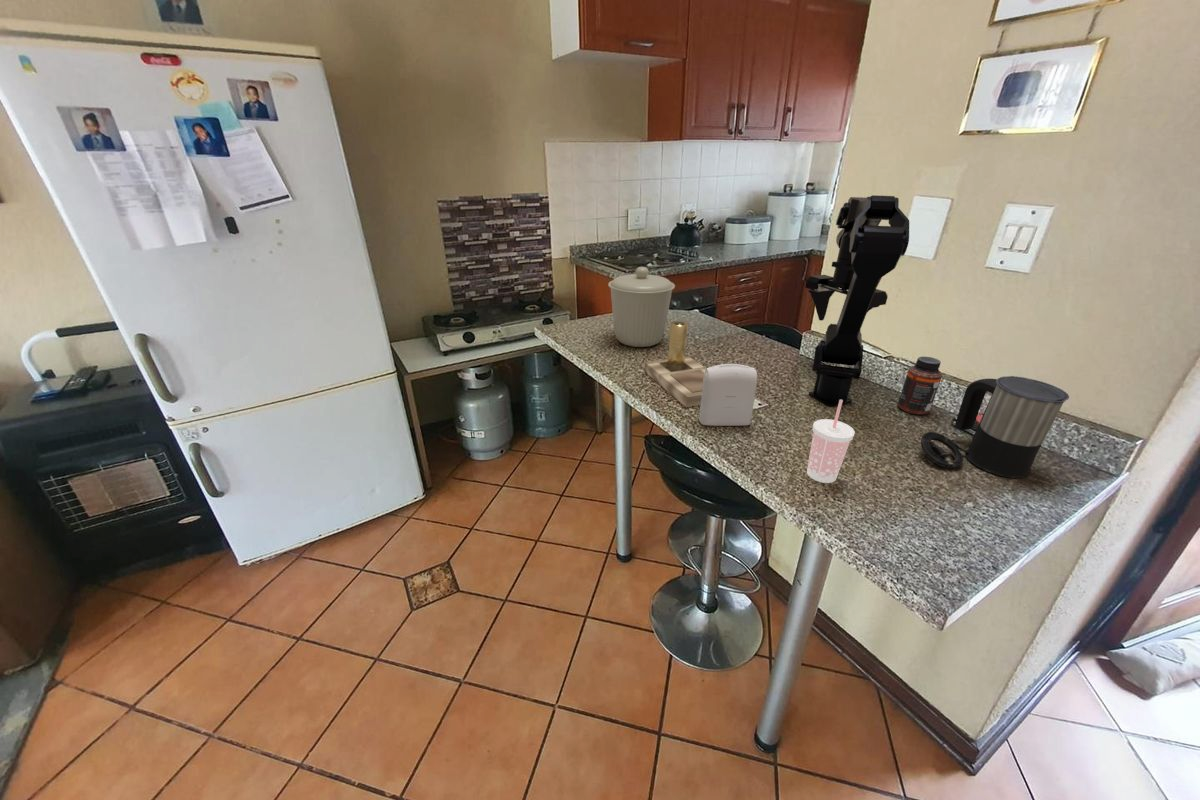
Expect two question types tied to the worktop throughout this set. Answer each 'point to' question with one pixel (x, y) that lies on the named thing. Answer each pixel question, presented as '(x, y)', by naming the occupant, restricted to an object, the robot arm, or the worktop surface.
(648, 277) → the canister
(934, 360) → the supplement bottle
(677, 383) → the jig plate
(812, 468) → the beverage cup
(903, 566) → the worktop surface
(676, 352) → the cylinder
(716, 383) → the photo printer
